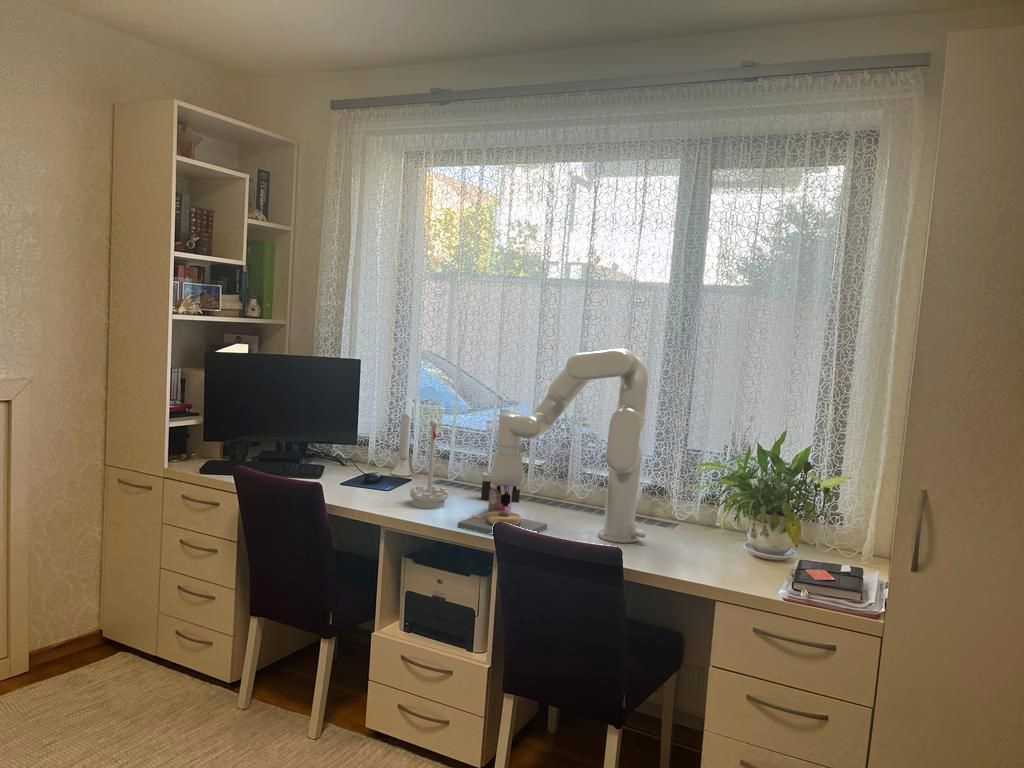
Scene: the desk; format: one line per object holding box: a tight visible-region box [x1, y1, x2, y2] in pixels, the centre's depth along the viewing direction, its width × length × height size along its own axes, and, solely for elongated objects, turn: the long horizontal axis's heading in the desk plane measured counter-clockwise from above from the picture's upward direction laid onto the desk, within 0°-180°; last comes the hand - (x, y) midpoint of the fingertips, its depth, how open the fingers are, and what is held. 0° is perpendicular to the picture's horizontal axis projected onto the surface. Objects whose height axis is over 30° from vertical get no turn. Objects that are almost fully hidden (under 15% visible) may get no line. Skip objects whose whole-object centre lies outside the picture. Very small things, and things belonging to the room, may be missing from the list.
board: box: [457, 511, 548, 534], centre depth 257 cm, size 22×21×2 cm
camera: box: [480, 471, 521, 503], centre depth 292 cm, size 14×8×10 cm, turn 94°
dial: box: [486, 490, 522, 526], centre depth 258 cm, size 16×11×8 cm
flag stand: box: [409, 418, 449, 510], centre depth 278 cm, size 13×13×30 cm
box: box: [491, 485, 512, 512], centre depth 274 cm, size 10×6×12 cm, turn 168°
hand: (505, 505), depth 264 cm, fingers closed
